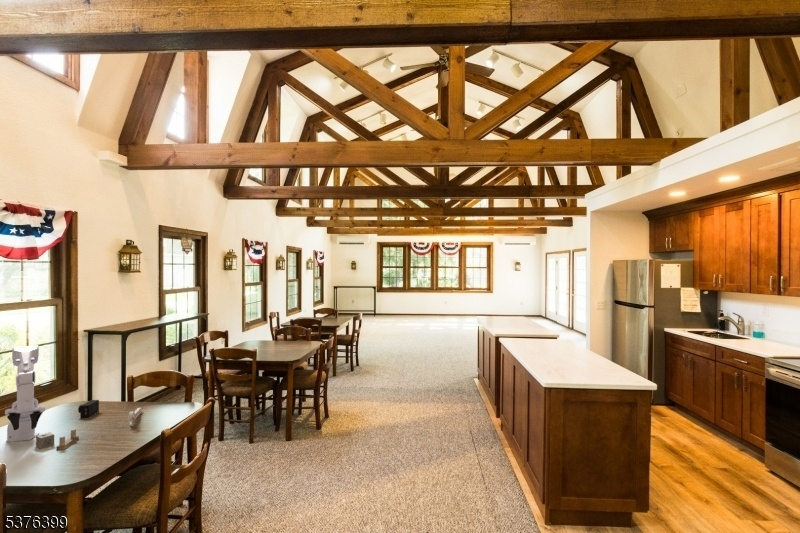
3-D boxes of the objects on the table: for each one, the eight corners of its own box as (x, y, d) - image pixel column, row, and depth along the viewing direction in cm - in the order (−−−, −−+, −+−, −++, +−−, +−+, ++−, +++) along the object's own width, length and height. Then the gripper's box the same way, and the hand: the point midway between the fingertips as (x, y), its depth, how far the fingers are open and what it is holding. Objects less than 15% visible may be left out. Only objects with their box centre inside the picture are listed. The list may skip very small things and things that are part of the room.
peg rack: (56, 449, 187) (56, 438, 187) (71, 439, 198) (71, 428, 198) (64, 449, 187) (64, 438, 187) (78, 438, 199) (78, 428, 199)
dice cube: (36, 447, 190) (36, 435, 190) (49, 443, 194) (49, 432, 194) (40, 449, 188) (40, 438, 188) (54, 445, 192) (54, 434, 192)
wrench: (141, 417, 237) (132, 429, 210) (137, 417, 236) (127, 429, 209) (141, 402, 238) (132, 412, 211) (137, 403, 237) (128, 413, 210)
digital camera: (88, 412, 237) (88, 400, 237) (98, 411, 238) (99, 399, 238) (77, 418, 227) (77, 405, 227) (89, 418, 228) (89, 405, 228)
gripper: (0, 402, 184) (-1, 433, 184) (38, 400, 187) (38, 430, 187) (11, 397, 191) (11, 427, 191) (48, 395, 194) (47, 425, 194)
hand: (25, 428), depth 189 cm, fingers open, 6 cm apart
